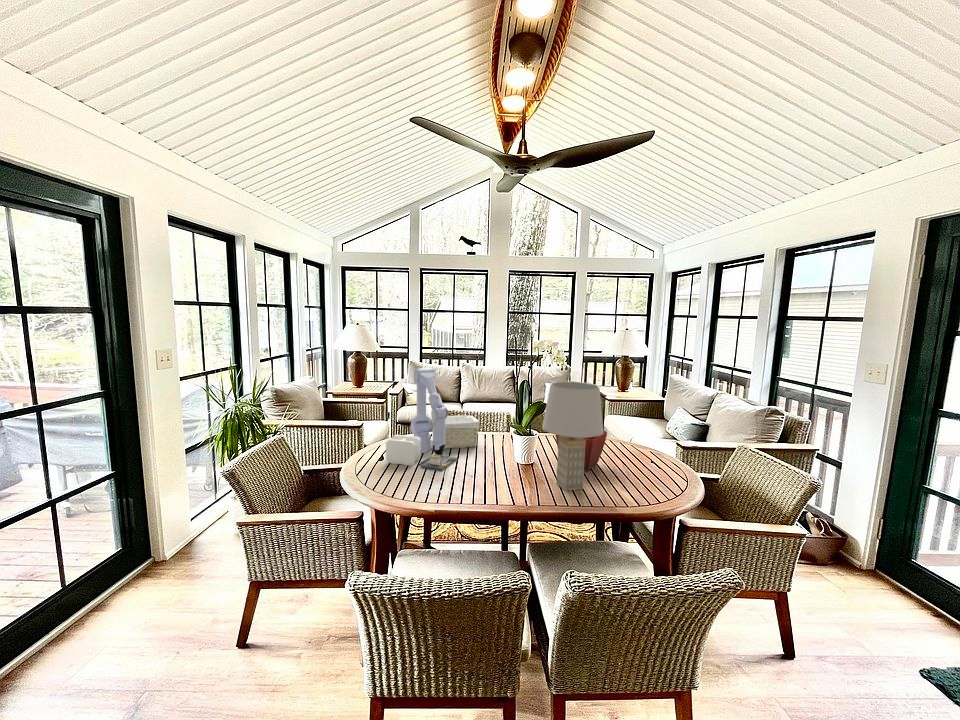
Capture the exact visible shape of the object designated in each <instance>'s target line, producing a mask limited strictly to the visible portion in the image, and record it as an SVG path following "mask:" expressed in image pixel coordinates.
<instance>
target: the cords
mask: <svg viewBox="0 0 960 720" xmlns="http://www.w3.org/2000/svg"><path fill="white" fill-rule="evenodd" d="M428 460H430V456H429V457H428V458H426V459H424V460H423V461H421V462H420V463H418V465H417V466H419V467H421V465H422V464H423V463H425V462H426V461H428Z"/></svg>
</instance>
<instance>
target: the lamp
mask: <svg viewBox="0 0 960 720" xmlns="http://www.w3.org/2000/svg"><path fill="white" fill-rule="evenodd" d="M601 399H602V398H601V391H600V386H599V385H597V384H594V383H589V382H581V381H554V382H553V381H552V382H551V383H550V385H549V391H548V396H547V400H546V405H545V410H544V415H543V420H542V427H541V429H542V430H543V431H545V432H547V433H549V434H551V435H555V436H556V435H560V436H558V441H559V442H558V447H557V465H556V467H557V468H556V485H558V486H559V487H560V488H562V489H563V490H564V492H568V491H567V490H569V491H577V490H576V489H580V490H583V489H584V477H585V474H584V472H585V471H584V459H585V445H586V440H585V439H583V438H588V437H596V436H600V435H602V434H603V432H604V431H605V430H604V424H603V423H604V422H603V413H602V403H601V401H602V400H601ZM562 489H561V490H562Z"/></svg>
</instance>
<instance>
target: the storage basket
mask: <svg viewBox="0 0 960 720" xmlns="http://www.w3.org/2000/svg"><path fill="white" fill-rule="evenodd" d="M480 423H481V422H480V421H479V419H477V418H476V417H475V416H473V415H448V416H447V418H446V419H445V447H444V449H445V450H446V449H465V448H475V447H477V442H478V434H479V429H480ZM431 425H432V429H431V431H433V422H432V421H431ZM444 449H443V450H444Z"/></svg>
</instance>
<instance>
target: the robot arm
mask: <svg viewBox="0 0 960 720" xmlns="http://www.w3.org/2000/svg"><path fill="white" fill-rule="evenodd" d="M436 377H437V375H436V370H435V368H434V367H427V368H426V367H425V368H424V367H423V368H417V367H416V368H415V369H414V371H413V384H415V385H416V415H414V417H412V418H411V422H410V431H411V433H412V435H413V436H414V437H419V438H420V439H421V454H424V453H427V452H428V451H429V450H432V449H433V452H434V454H438V455H441V457H442V455H443V452H444V447H445V419H446V418H447V416H449V415H448V414H449V413H448V407H447V406H446V405H445V404H443V401H442V398H441V394H439V393H438V392H437V389H436V388H437V386H436V383H435V379H436ZM427 392H428V395H429V396H428V402H429V405H430V408H431V413H430V415H431V418H430V416H428V415H427ZM432 422H433V430H432ZM431 431H432V438H431V434H430V433H431ZM432 444H433V445H432ZM431 445H432V446H431Z"/></svg>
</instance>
